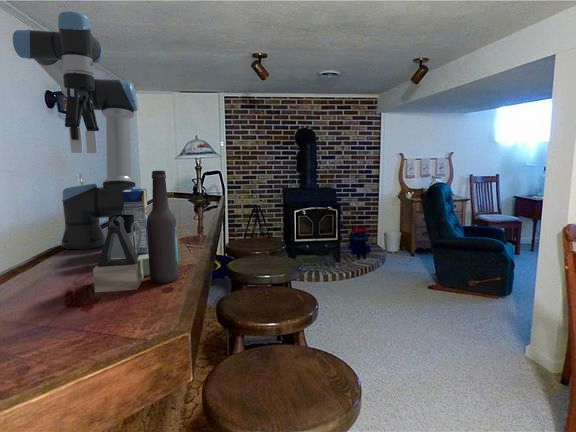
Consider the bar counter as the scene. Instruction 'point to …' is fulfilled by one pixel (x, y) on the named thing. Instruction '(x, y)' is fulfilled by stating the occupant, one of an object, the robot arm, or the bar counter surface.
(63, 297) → the bar counter surface
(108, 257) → the phone stand
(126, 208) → the beverage box
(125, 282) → the maple block
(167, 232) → the beer bottle
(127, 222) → the grey black handled cylinder
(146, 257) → the sage cube
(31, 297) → the bar counter surface
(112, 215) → the robot arm
